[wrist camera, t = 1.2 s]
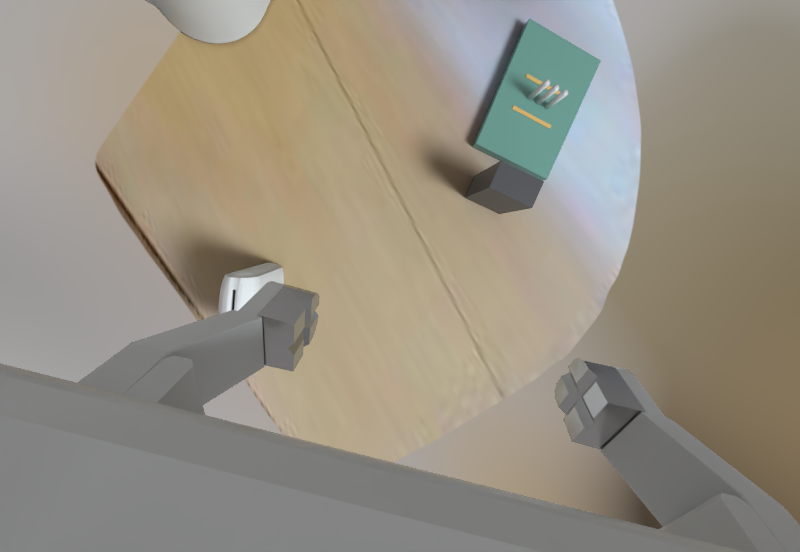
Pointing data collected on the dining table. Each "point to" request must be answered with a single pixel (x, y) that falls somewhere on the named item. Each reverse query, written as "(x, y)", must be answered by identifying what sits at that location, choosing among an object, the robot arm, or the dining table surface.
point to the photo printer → (246, 285)
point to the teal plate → (536, 101)
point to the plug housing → (504, 188)
